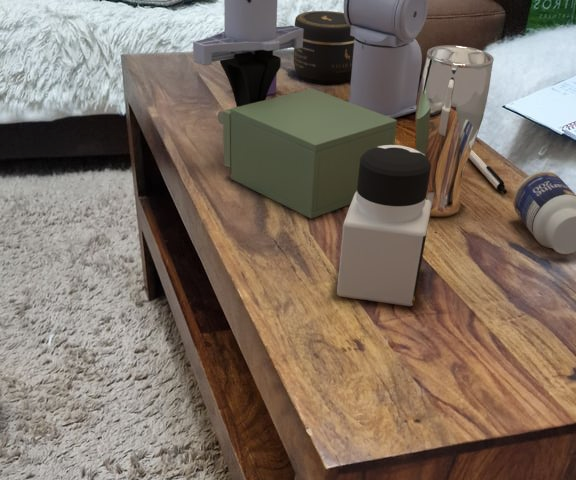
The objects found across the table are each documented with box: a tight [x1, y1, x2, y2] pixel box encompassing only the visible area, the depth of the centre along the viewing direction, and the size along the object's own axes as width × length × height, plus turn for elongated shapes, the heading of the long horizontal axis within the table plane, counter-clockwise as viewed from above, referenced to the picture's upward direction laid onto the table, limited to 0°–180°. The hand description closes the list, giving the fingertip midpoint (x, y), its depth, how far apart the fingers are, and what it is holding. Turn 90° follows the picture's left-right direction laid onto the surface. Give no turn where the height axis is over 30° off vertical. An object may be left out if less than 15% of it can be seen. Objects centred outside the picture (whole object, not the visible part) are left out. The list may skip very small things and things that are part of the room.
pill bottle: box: [513, 170, 576, 255], centre depth 79 cm, size 5×5×10 cm
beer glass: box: [414, 44, 495, 218], centre depth 81 cm, size 7×7×15 cm
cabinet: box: [230, 87, 398, 220], centre depth 86 cm, size 13×12×8 cm
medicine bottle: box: [336, 144, 432, 307], centre depth 69 cm, size 7×7×12 cm
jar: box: [293, 10, 355, 85], centre depth 116 cm, size 10×10×8 cm
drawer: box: [217, 108, 232, 169], centre depth 89 cm, size 17×11×6 cm
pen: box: [468, 149, 508, 195], centre depth 95 cm, size 1×19×1 cm, turn 11°
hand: (249, 123), depth 91 cm, fingers closed, pressing on drawer
